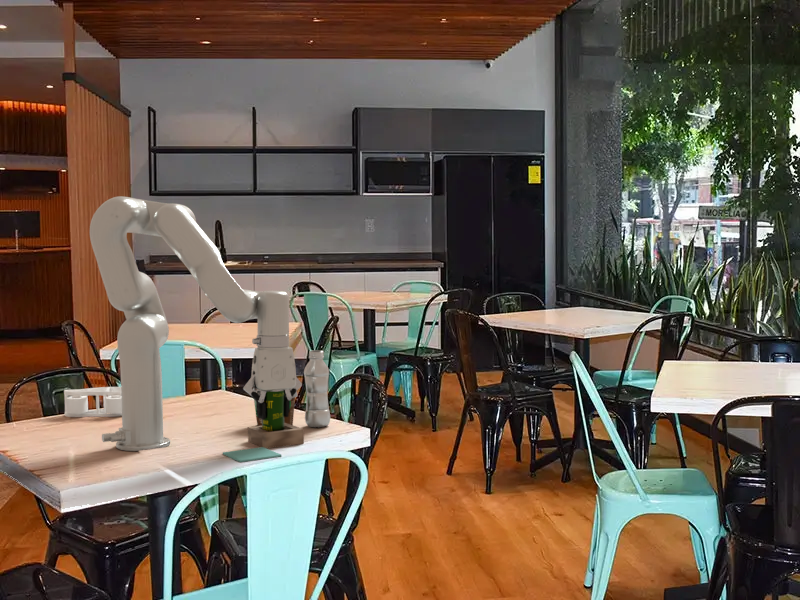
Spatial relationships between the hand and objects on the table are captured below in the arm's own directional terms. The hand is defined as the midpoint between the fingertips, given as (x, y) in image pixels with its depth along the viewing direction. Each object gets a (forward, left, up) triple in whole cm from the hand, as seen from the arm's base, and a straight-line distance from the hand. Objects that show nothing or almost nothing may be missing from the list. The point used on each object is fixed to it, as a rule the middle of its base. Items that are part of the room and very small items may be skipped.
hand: (273, 416), depth 231 cm
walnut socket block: (0, 0, -6) cm, 6 cm away
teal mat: (-10, -10, -6) cm, 15 cm away
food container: (+7, +17, -7) cm, 19 cm away
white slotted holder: (-24, +62, -7) cm, 67 cm away
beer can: (0, 0, -5) cm, 5 cm away
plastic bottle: (+18, +11, -7) cm, 22 cm away
